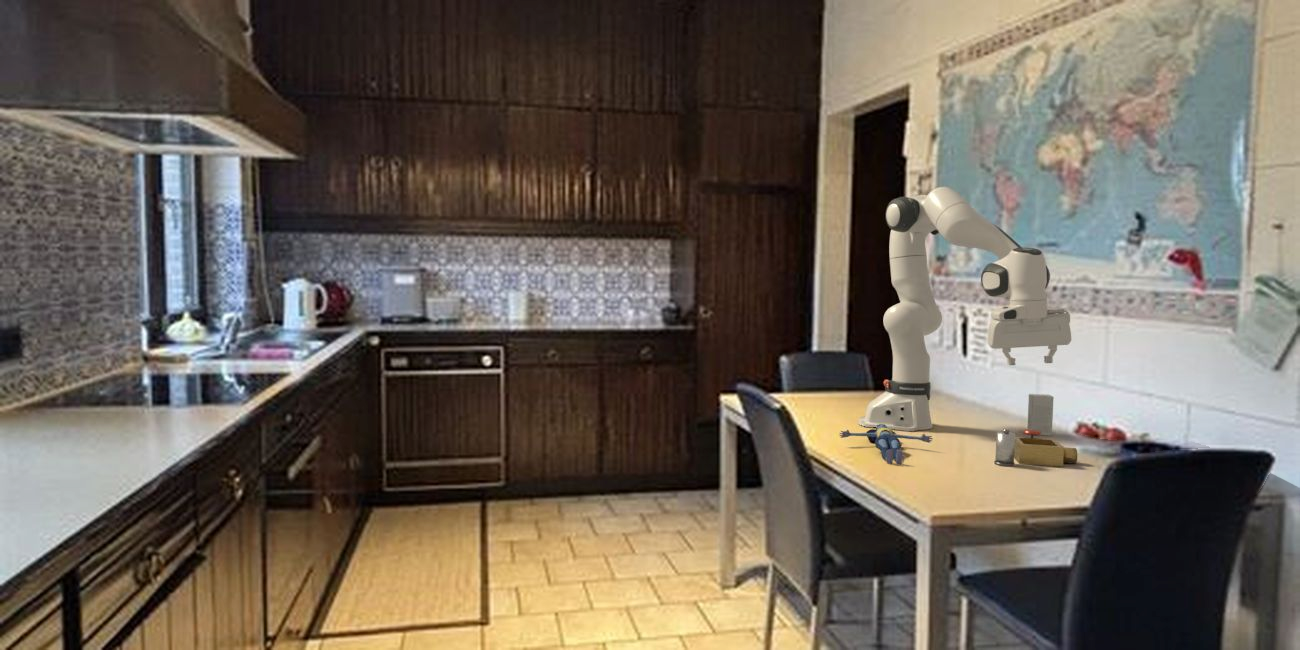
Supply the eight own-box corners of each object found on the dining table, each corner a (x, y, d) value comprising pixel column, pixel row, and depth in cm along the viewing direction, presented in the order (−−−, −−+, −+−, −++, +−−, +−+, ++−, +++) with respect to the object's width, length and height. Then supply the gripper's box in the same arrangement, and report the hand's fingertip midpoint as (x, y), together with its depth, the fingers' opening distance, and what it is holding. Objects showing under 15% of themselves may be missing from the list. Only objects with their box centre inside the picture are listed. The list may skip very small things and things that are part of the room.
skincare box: (1046, 433, 262) (1049, 394, 261) (1052, 436, 258) (1054, 396, 257) (1026, 432, 262) (1028, 393, 262) (1031, 435, 258) (1033, 395, 257)
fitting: (1019, 463, 220) (1020, 439, 220) (1008, 451, 235) (1010, 428, 235) (1080, 468, 217) (1081, 443, 216) (1065, 454, 232) (1067, 431, 231)
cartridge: (995, 465, 218) (997, 430, 217) (993, 461, 222) (994, 427, 222) (1016, 467, 217) (1018, 432, 216) (1012, 463, 221) (1014, 428, 220)
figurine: (896, 466, 216) (896, 445, 216) (825, 446, 238) (826, 427, 237) (953, 457, 227) (954, 437, 227) (881, 439, 249) (881, 420, 249)
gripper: (1064, 307, 223) (1065, 360, 225) (984, 312, 224) (986, 364, 226) (1075, 309, 217) (1076, 363, 218) (993, 314, 218) (994, 367, 219)
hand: (1029, 364), depth 222 cm, fingers open, 8 cm apart
